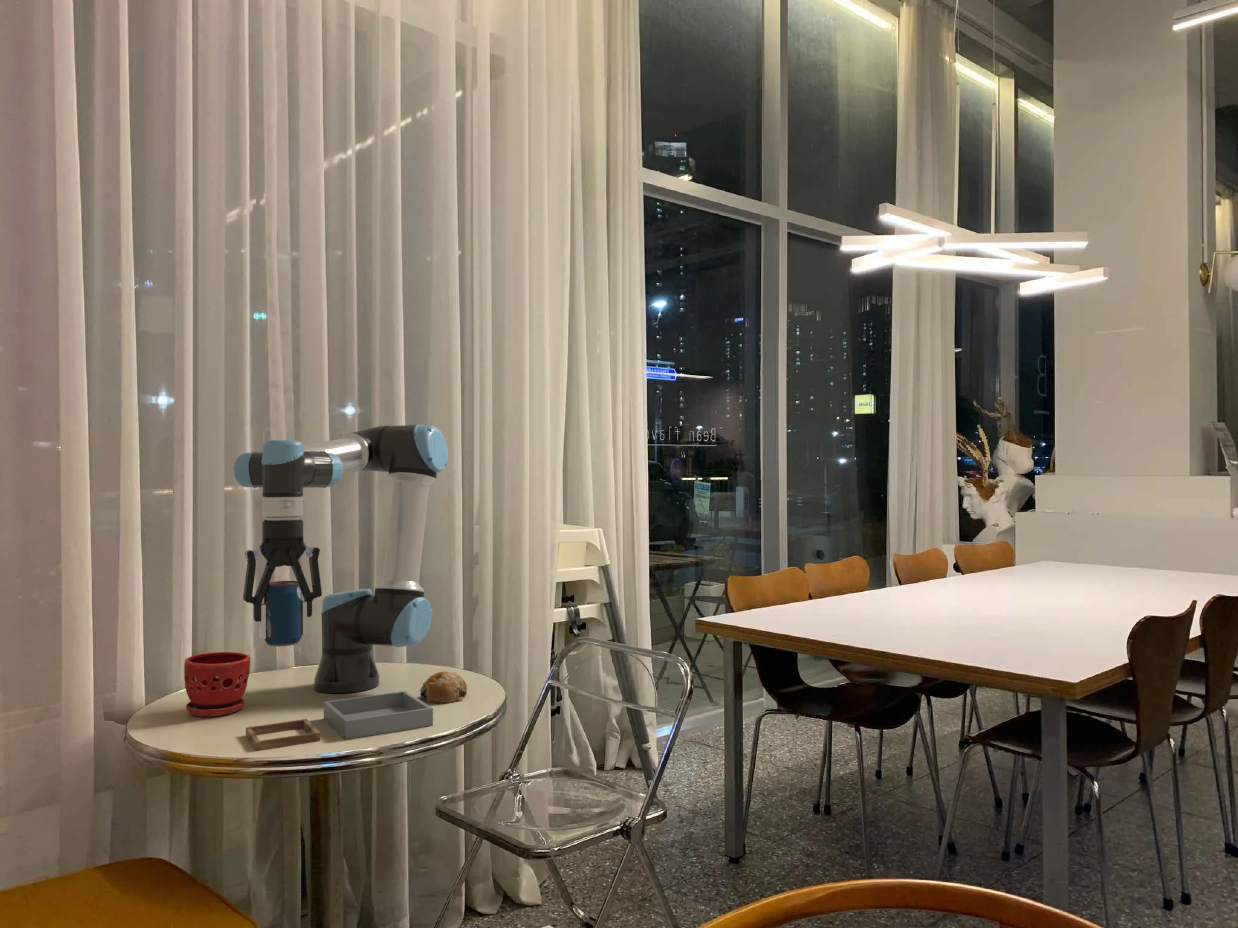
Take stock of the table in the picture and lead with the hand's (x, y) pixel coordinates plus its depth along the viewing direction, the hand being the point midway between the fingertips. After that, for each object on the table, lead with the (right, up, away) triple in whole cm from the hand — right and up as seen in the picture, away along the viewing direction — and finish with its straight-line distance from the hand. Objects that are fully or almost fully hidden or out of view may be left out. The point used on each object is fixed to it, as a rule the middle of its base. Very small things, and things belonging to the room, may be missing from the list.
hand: (283, 635), depth 173 cm
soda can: (0, -2, 0) cm, 2 cm away
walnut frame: (0, -20, 0) cm, 20 cm away
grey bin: (+16, -20, +11) cm, 27 cm away
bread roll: (+25, -21, +30) cm, 44 cm away
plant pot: (-22, -21, +19) cm, 35 cm away
